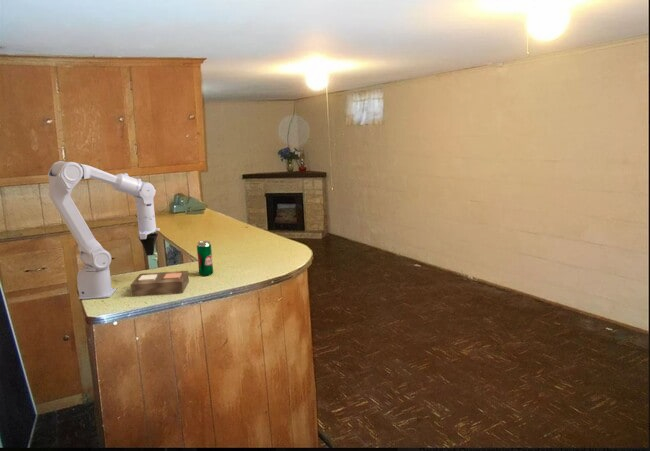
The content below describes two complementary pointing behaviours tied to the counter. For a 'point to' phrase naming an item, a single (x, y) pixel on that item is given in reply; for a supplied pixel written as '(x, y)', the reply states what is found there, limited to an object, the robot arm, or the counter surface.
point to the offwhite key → (147, 277)
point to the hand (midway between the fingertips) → (150, 254)
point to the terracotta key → (172, 276)
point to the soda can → (204, 258)
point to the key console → (160, 284)
